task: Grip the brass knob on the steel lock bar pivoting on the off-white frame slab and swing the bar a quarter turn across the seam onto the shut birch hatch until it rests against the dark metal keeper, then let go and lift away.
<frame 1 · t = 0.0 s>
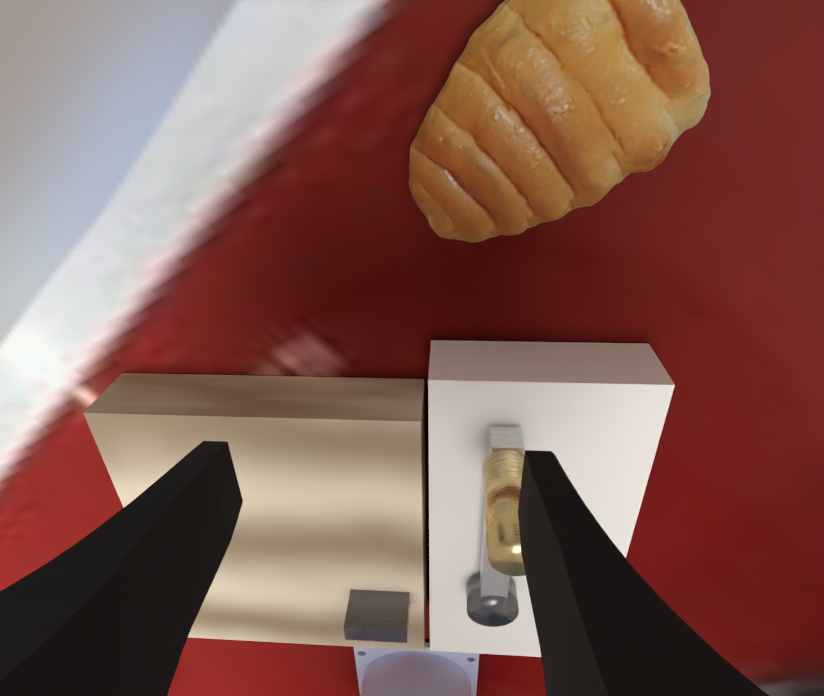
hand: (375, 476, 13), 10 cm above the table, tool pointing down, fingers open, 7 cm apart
lock bar: (501, 577, 21), point 6 cm above the table, hinge at 0.0°
keeper: (386, 547, 30), resting on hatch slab
pastry: (549, 106, 18), on the table
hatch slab: (294, 501, 28), on the table
frame slab: (520, 495, 27), on the table
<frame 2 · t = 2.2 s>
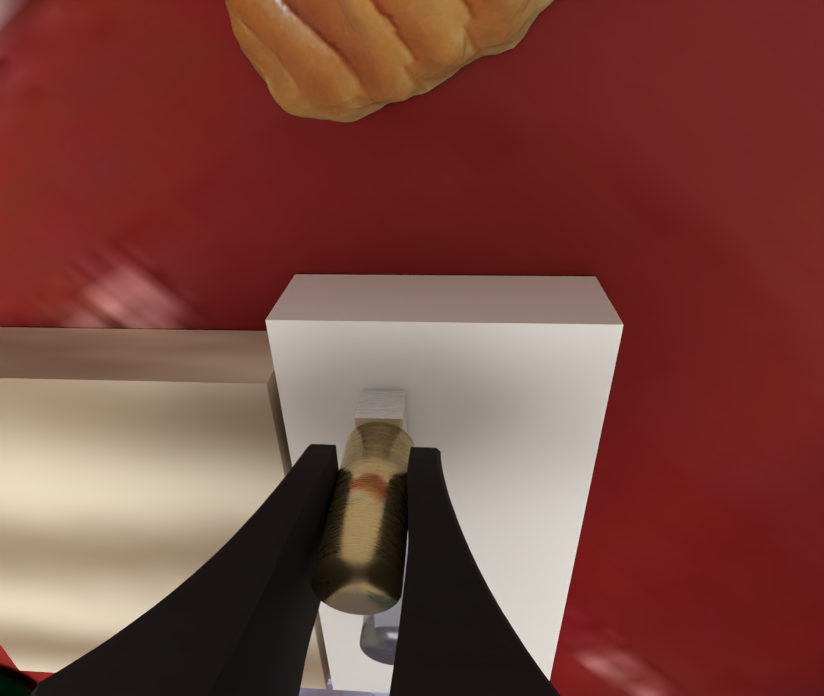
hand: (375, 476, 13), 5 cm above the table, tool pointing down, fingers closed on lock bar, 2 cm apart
lock bar: (383, 606, 15), point 6 cm above the table, hinge at 0.0°, touching gripper
soda can: (4, 681, 31), on the table
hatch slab: (153, 498, 22), on the table
frame slab: (440, 491, 20), on the table
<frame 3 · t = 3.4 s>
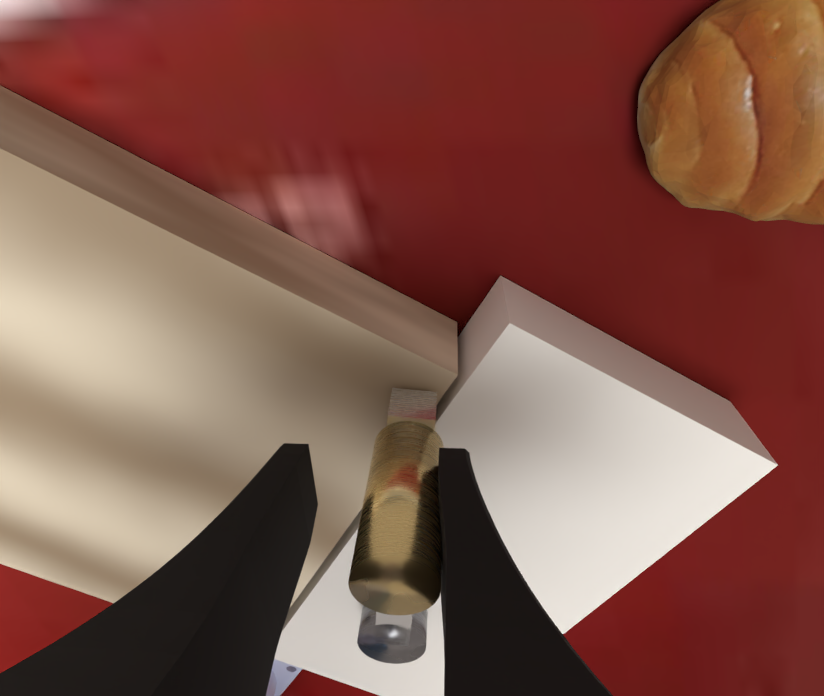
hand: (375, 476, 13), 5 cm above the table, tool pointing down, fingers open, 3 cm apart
lock bar: (394, 605, 15), point 6 cm above the table, hinge at 24.4°, touching gripper
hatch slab: (176, 404, 19), on the table
frame slab: (470, 511, 21), on the table
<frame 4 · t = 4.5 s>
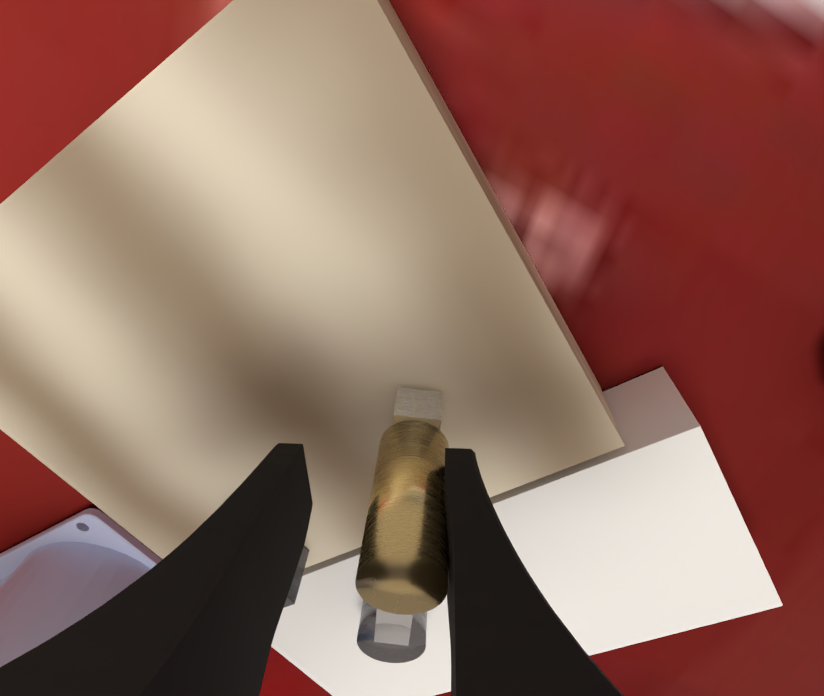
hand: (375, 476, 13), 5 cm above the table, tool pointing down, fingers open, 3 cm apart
lock bar: (396, 605, 15), point 6 cm above the table, hinge at 52.7°, touching gripper
keeper: (293, 465, 20), resting on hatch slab
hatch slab: (281, 332, 17), on the table
frame slab: (482, 538, 22), on the table
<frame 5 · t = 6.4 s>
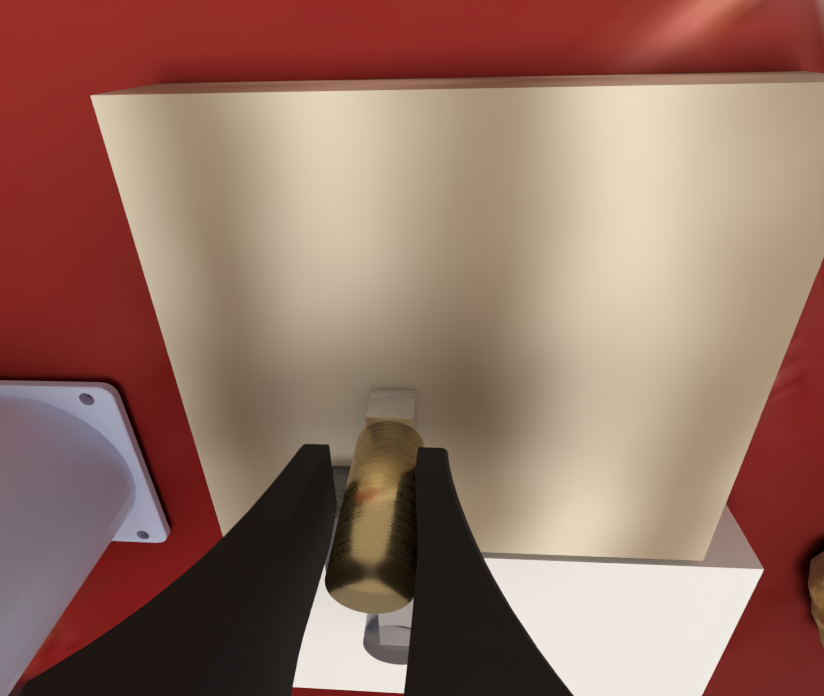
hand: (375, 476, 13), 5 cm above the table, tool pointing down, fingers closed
lock bar: (389, 605, 15), point 6 cm above the table, hinge at 89.1°, touching gripper
keeper: (364, 439, 19), resting on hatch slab
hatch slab: (460, 325, 17), on the table
frame slab: (477, 567, 23), on the table
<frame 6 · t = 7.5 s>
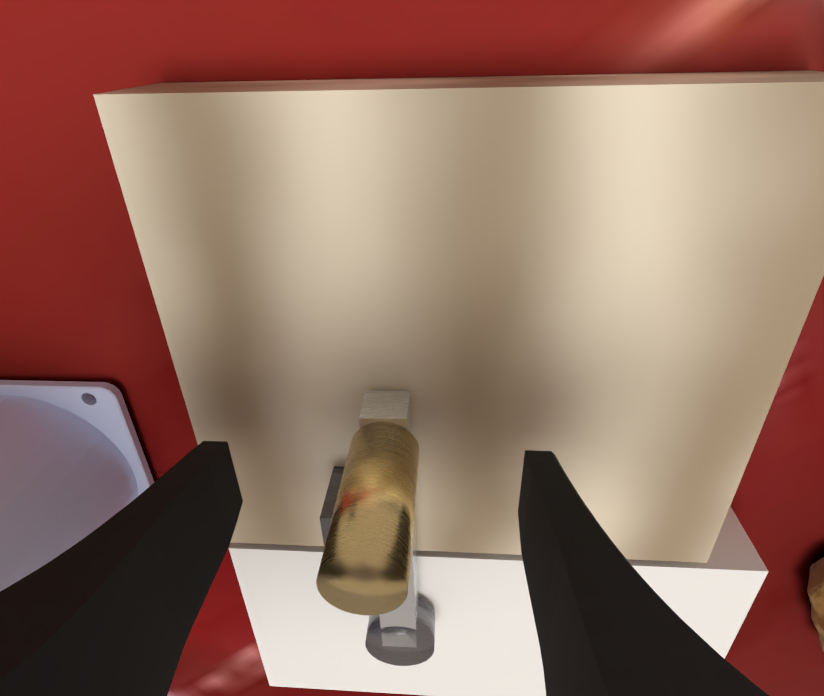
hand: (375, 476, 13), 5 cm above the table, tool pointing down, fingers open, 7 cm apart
lock bar: (388, 607, 15), point 6 cm above the table, hinge at 90.5°
keeper: (367, 439, 19), resting on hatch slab
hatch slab: (464, 325, 17), on the table
frame slab: (479, 568, 23), on the table
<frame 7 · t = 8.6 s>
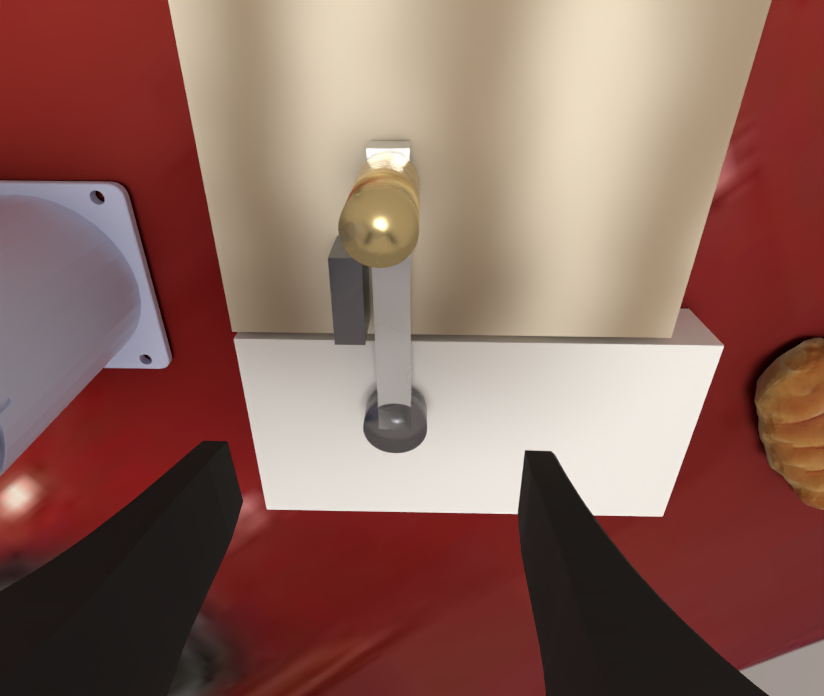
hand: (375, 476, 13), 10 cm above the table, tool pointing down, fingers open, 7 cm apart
lock bar: (390, 347, 16), point 6 cm above the table, hinge at 90.5°
keeper: (363, 247, 21), resting on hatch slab
pastry: (819, 414, 25), on the table
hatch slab: (455, 115, 18), on the table
frame slab: (464, 393, 24), on the table
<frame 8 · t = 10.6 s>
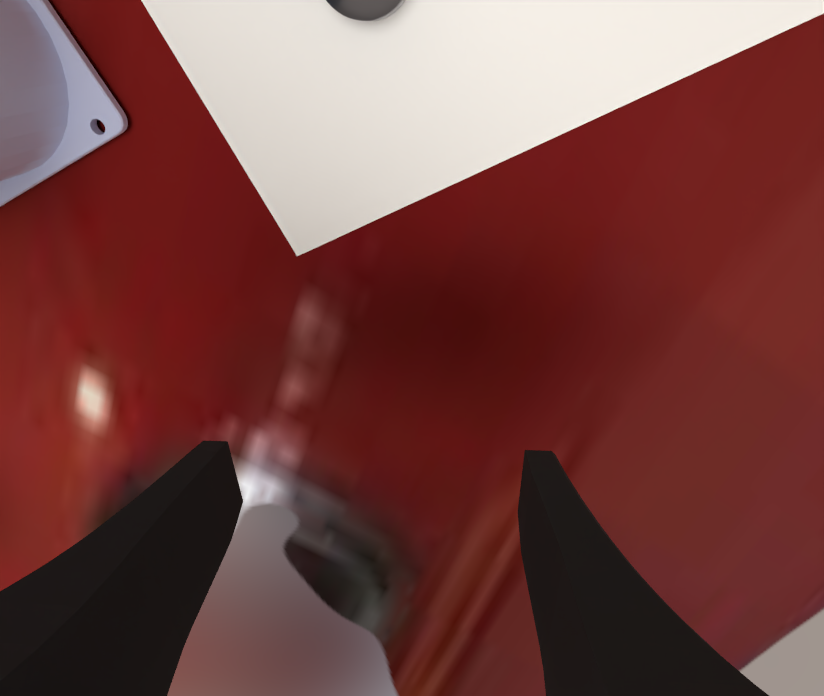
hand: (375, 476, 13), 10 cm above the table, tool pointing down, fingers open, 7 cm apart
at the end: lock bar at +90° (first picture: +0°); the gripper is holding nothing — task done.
